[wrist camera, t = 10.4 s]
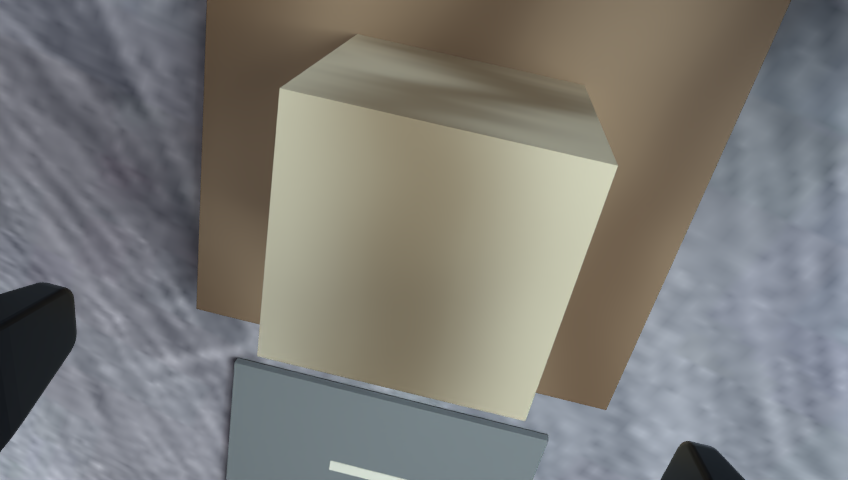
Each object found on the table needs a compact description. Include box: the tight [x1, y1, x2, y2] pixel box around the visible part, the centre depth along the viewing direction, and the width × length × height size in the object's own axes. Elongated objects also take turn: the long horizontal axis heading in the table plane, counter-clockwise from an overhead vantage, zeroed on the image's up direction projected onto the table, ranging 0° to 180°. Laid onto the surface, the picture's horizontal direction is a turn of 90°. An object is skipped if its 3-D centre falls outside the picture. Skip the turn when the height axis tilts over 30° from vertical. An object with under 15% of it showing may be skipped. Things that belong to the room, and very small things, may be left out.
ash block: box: [257, 34, 618, 421], centre depth 15 cm, size 6×6×6 cm
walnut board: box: [197, 0, 791, 410], centre depth 18 cm, size 14×14×2 cm
